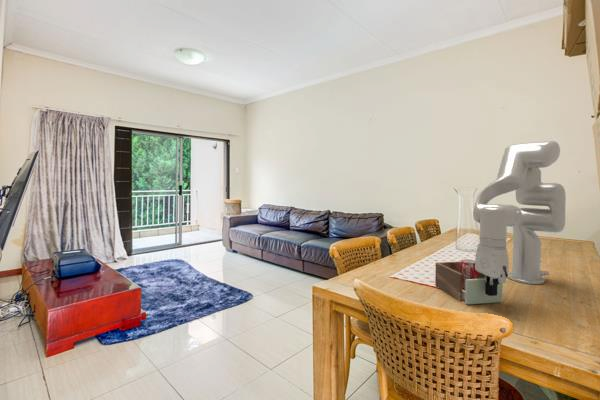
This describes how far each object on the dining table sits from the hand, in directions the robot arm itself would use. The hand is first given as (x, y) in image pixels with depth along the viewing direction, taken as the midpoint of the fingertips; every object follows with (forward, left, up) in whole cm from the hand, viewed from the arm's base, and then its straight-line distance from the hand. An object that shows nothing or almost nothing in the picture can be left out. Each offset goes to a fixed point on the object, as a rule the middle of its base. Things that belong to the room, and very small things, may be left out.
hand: (491, 294), depth 97 cm
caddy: (0, -13, -4) cm, 14 cm away
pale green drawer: (0, -11, -4) cm, 12 cm away
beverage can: (0, -11, -4) cm, 12 cm away
